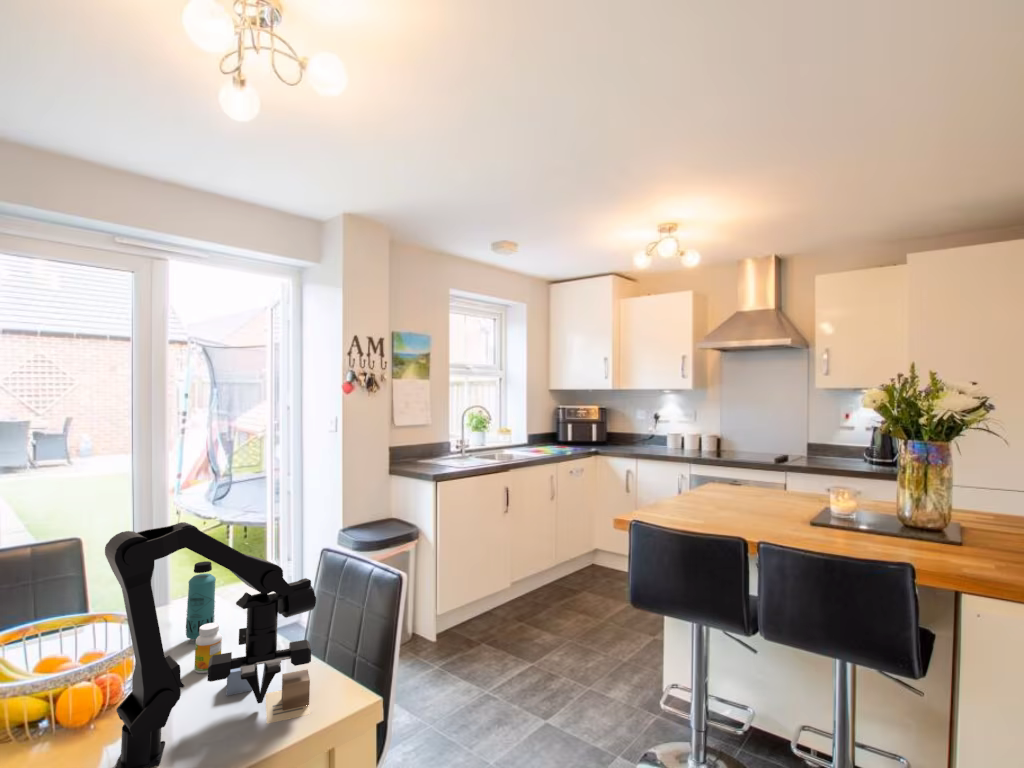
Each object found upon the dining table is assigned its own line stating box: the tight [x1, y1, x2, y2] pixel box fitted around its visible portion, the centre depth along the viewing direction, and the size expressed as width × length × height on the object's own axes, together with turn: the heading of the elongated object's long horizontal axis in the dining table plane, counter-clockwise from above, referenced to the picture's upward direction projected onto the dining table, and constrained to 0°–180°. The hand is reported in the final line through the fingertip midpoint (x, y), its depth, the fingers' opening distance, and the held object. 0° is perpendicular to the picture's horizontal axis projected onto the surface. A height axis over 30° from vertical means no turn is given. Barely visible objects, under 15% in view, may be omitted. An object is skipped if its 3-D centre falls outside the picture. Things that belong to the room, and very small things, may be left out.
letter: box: [265, 689, 311, 724], centre depth 111 cm, size 12×8×1 cm, turn 26°
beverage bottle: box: [185, 560, 216, 640], centre depth 141 cm, size 6×7×20 cm
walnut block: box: [281, 668, 311, 710], centre depth 112 cm, size 5×5×5 cm
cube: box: [226, 668, 253, 696], centre depth 117 cm, size 5×5×5 cm
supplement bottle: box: [194, 622, 223, 674], centre depth 126 cm, size 5×5×10 cm
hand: (259, 702), depth 109 cm, fingers closed
